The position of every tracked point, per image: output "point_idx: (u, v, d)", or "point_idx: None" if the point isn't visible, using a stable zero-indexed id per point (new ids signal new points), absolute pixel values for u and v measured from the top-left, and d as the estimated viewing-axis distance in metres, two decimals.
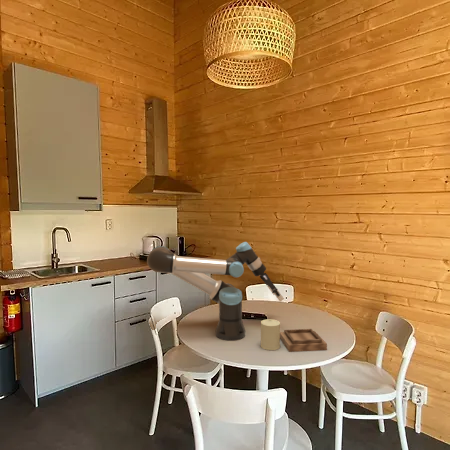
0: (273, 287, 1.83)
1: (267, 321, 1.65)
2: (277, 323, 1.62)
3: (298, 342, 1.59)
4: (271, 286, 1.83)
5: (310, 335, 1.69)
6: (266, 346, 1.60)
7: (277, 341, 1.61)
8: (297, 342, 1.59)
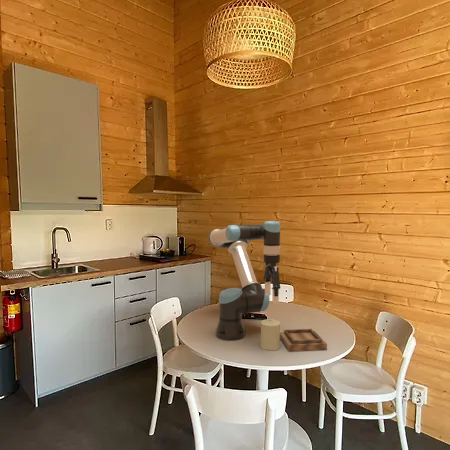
0: (277, 283, 1.53)
1: (267, 321, 1.65)
2: (277, 323, 1.62)
3: (298, 342, 1.59)
4: (276, 281, 1.54)
5: (310, 335, 1.69)
6: (266, 346, 1.60)
7: (277, 341, 1.61)
8: (297, 342, 1.59)
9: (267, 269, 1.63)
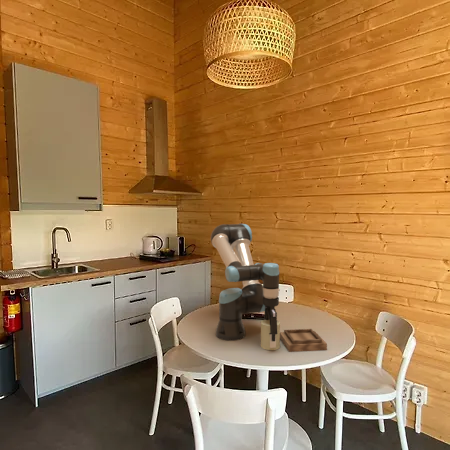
0: (275, 329, 1.56)
1: (267, 321, 1.65)
2: (277, 323, 1.62)
3: (298, 342, 1.59)
4: (273, 327, 1.56)
5: (310, 335, 1.69)
6: (266, 346, 1.60)
7: (277, 341, 1.61)
8: (297, 342, 1.59)
9: (266, 311, 1.64)
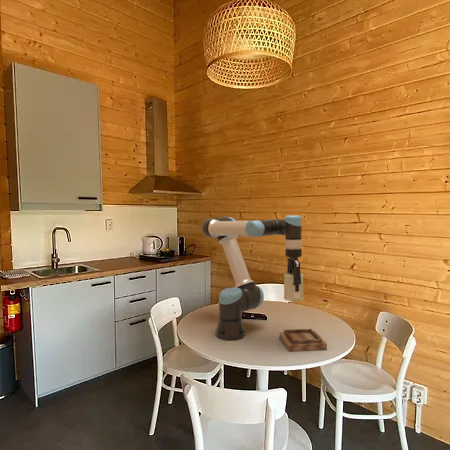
0: (298, 279, 1.55)
1: (290, 273, 1.65)
2: None
3: (298, 342, 1.59)
4: (297, 276, 1.56)
5: (310, 335, 1.69)
6: (289, 297, 1.60)
7: (301, 292, 1.60)
8: (297, 342, 1.59)
9: (289, 263, 1.64)
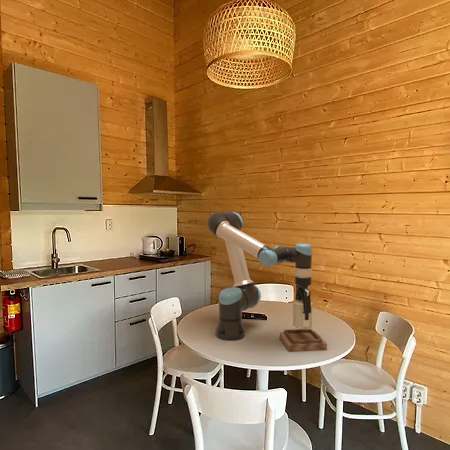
0: (308, 308, 1.58)
1: (299, 301, 1.68)
2: None
3: (298, 342, 1.59)
4: (307, 305, 1.58)
5: (310, 335, 1.69)
6: (299, 325, 1.62)
7: (310, 320, 1.63)
8: (297, 342, 1.59)
9: (298, 291, 1.66)
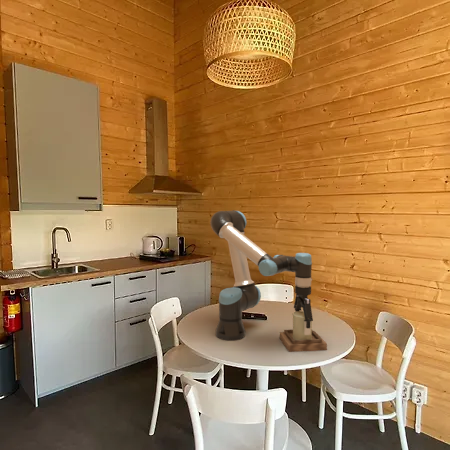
0: (310, 316, 1.56)
1: (299, 312, 1.68)
2: None
3: (298, 342, 1.59)
4: (308, 313, 1.57)
5: None
6: (298, 337, 1.63)
7: None
8: (297, 342, 1.59)
9: (298, 300, 1.67)
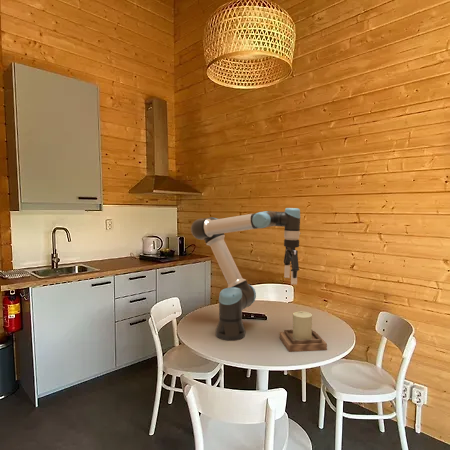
0: (296, 265, 1.64)
1: (299, 313, 1.68)
2: (309, 315, 1.65)
3: (298, 342, 1.59)
4: (295, 263, 1.65)
5: None
6: (298, 337, 1.63)
7: (310, 332, 1.63)
8: (297, 342, 1.59)
9: (287, 253, 1.75)
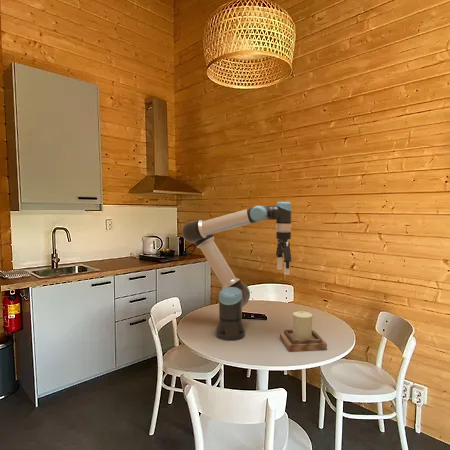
0: (288, 256, 1.71)
1: (299, 313, 1.68)
2: (309, 315, 1.65)
3: (298, 342, 1.59)
4: (287, 254, 1.71)
5: None
6: (298, 337, 1.63)
7: (310, 332, 1.63)
8: (297, 342, 1.59)
9: (279, 245, 1.81)
